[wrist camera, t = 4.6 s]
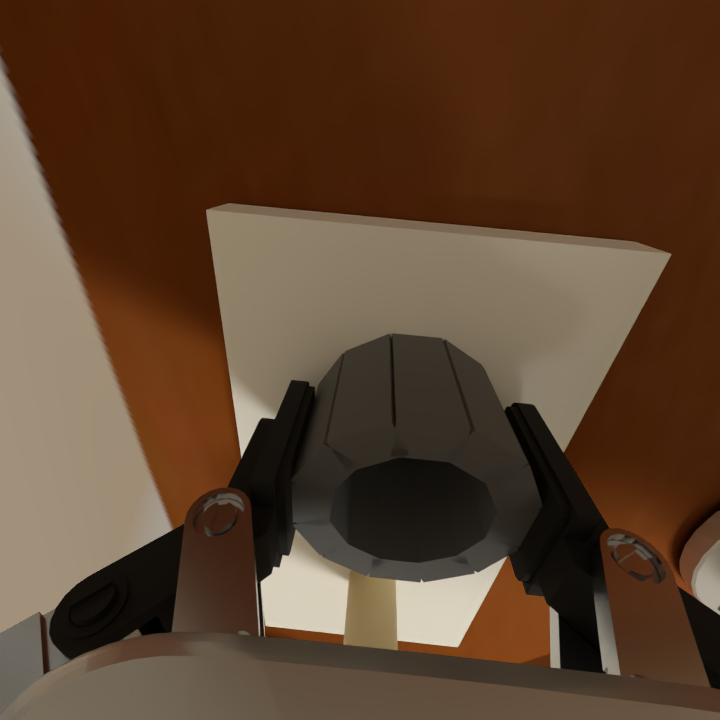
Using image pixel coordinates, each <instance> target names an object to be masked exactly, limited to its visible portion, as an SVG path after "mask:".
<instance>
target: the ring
mask: <svg viewBox="0 0 720 720" xmlns="http://www.w3.org/2000/svg"><path fill="white" fill-rule="evenodd" d="M291 482H292V508H293V522H294V523H293V526H294V527H295V529H296V530H297V531H298V532H299V533H300V534H301V535H302V536H303V538H304V539H305V540H306V541H307V542H308V543H309V544H310V545H311V546H312V548H313V549H314V550H315V551H316V552H317V553H318V554H319V555H322V557H323V558H325V559H328V560H330V561H332V562H334V563H337V564H339V565H341V566H344V567H346V568H348V569H350V570H353V571H355V572H357V573H360V574H362V575H364V576H367V575H368V574H369V577H373V578H383V579H392V580H401V581H410V582H419V583H420V582H421V579H422V581H423V582H429V581H435V580H441V579H447V578H453V577H459V576H464V575H470V574H475V573H474V571H476V572H480V571H482V570H484V569H485V568H487V567H489V566H491V565H492V564H494V563H496V562H498V561H500V560H501V559H503V558H505V557H507V556H509V555H510V554H512V553H514V552H516V551H517V550H518V549H519V548H518V547H520V545H521V543H522V542H523V540H524V538H525V536H526V535H527V533H528V531H529V529H530V527H531V526H532V524H533V522H534V520H535V519H536V517H537V515H538V513H539V511H540V508H542V506H543V505H542V502H541V498H540V495H539V492H538V489H537V486H536V483H535V480H534V477H533V473H532V470H531V467H530V465H529V463H528V460H527V458H526V456H525V454H524V452H523V450H522V448H521V446H520V443H519V441H518V439H517V437H516V435H515V433H514V431H513V429H512V426H511V424H510V422H509V420H508V418H507V416H506V414H505V412H504V409H503V407H502V405H501V403H500V401H499V399H498V397H497V395H496V393H495V390H494V388H493V386H492V384H491V382H490V380H489V378H488V376H487V373H486V371H485V369H484V367H483V366H482V364H480V363H479V362H477V361H476V360H474V359H473V358H472V357H470V356H469V355H467V354H466V353H464V352H463V351H461V350H460V349H459V348H457V347H456V346H454V345H453V344H451V343H450V342H448V341H447V340H446V339H445V340H444V341H443V339H442V338H436V337H426V336H416V335H406V334H396V333H393V334H392V338H391V336H390V334H387V335H385V336H382V337H379V338H377V339H374V340H372V341H369V342H367V343H364V344H362V345H359V346H356V347H354V348H351V349H349V350H346V351H345V354H344V353H342V354H341V356H340V357H339V358H338V360H337V361H336V362H335V363H334V365H333V366H332V367H331V369H330V370H329V371H328V372H327V374H326V375H325V376H324V378H323V379H322V380H321V381H320V383H319V384H318V387H317V391H316V394H315V400H314V403H313V407H312V410H311V414H310V417H309V421H308V424H307V428H306V431H305V434H304V438H303V441H302V445H301V448H300V452H299V455H298V459H297V462H296V465H295V469H294V472H293V476H292V479H291Z"/></svg>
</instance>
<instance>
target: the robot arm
mask: <svg viewBox="0 0 720 720" xmlns="http://www.w3.org/2000/svg"><path fill="white" fill-rule="evenodd" d="M314 400H315V387H313V386H309V382H308V381H298V380H291V382H290V384H289V387H288V389H287V391H286V394H285V396H284V398H283V401H282V403H281V406H280V408H279V410H278V413H277V415H276V417H275V419H270V418H261V419H260V421H259V422H258V424H257V426H256V429H255V431H254V433H253V435H252V437H251V439H250V441H249V443H248V445H247V447H246V450H245V452H244V454H243V456H242V458H241V460H240V462H239V464H238V466H237V468H236V471H235V473H234V475H233V477H232V479H231V481H230V483H229V485H228V487H227V488H218V489H215V490H212V491H209V492H207V493H206V494H204V495H202V496H201V497H199V498H198V499H197V500H196V501H195V502H194V503H193V504H192V506H191V507H190V509H189V510H188V512H187V515H186V518H185V523H184V524H183V525H181V526H179V527H178V528H176V529H174V530H172V531H170V532H169V533H167V534H165V535H163V536H161V537H160V538H158V539H156V540H154V541H152V542H150V543H149V544H147V545H145V546H143V547H141V548H139V549H138V550H136V551H134V552H132V553H130V554H129V555H127V556H125V557H123V558H121V559H120V560H118V561H116V562H114V563H112V564H110V565H109V566H107V567H105V568H103V569H101V570H100V571H97V572H96V573H94V574H92V575H90V576H89V577H87V578H86V579H84V580H83V581H81V582H80V583H78V584H77V585H76V586H75V587H74V588H73V589H71V590H70V592H68V593H67V594H66V595H65V596H64V598H63V599H62V601H61V602H60V603H59V605H58V606H57V607H56V609H54V610H52V611H50V612H48V613H47V614H45V615H42V614H41V613H40V612H38V613H36V614H35V615H33V616H31V617H29V618H27V619H25V620H23V621H22V622H20V623H18V624H16V625H14V626H13V627H11V628H9V629H7V630H5V631H3V632H2V633H0V720H720V510H718V511H717V512H715V513H714V514H713V515H711V516H710V517H709V518H708V519H707V520H706V521H705V522H704V523H703V524H702V525H701V526H700V527H698V528H697V529H696V530H695V532H694V533H693V535H692V536H691V537H690V539H689V540H688V541H687V543H686V544H685V547H684V549H683V552H682V555H681V557H680V574H681V576H682V578H683V580H684V582H685V584H686V585H687V586H688V588H689V589H690V590H691V592H692V593H693V594H694V596H695V597H696V598H697V599H696V598H694V597H693V596H691V595H690V594H688V593H687V592H685V591H684V590H683V589H681V588H680V587H678V586H677V583H676V580H675V577H674V574H673V571H672V569H671V567H670V565H669V563H668V562H667V561H666V559H665V558H664V557H663V555H662V554H661V553H660V552H659V551H658V550H657V549H656V548H655V547H654V546H652V545H651V544H650V543H649V542H647V541H646V540H644V539H643V538H641V537H640V536H638V535H636V534H634V533H632V532H630V531H626V530H623V529H619V528H610V529H609V527H608V525H607V524H606V522H605V521H604V519H603V517H602V516H601V514H600V512H599V511H598V509H597V507H596V506H595V504H594V502H593V501H592V499H591V497H590V496H589V494H588V492H587V491H586V489H585V487H584V486H583V484H582V483H581V481H580V479H579V478H578V476H577V474H576V473H575V471H574V469H573V468H572V466H571V464H570V463H569V461H568V459H567V458H566V456H565V454H564V453H563V451H562V450H561V448H560V446H559V445H558V443H557V441H556V440H555V438H554V436H553V435H552V433H551V431H550V430H549V428H548V427H547V425H546V423H545V422H544V420H543V418H542V417H541V415H540V413H539V412H538V410H537V408H536V407H535V406H534V405H533V404H526V403H516V402H515V403H513V404H512V405H511V406H507V407H506V408H505V411H504V412H505V414H506V416H507V418H508V420H509V422H510V424H511V426H512V429H513V431H514V433H515V435H516V437H517V439H518V441H519V443H520V446H521V448H522V450H523V452H524V454H525V456H526V458H527V460H528V463H529V465H530V467H531V470H532V473H533V477H534V480H535V483H536V486H537V489H538V492H539V495H540V498H541V502H542V505H543V506H542V508H540V511H539V513H538V515H537V517H536V519H535V520H534V522H533V524H532V526H531V527H530V529H529V531H528V533H527V535H526V536H525V538H524V540H523V542H522V543H521V545H520V547H518V548H519V549H518V550H517V551H516V552H514V553H512V554H510V555H509V557H510V560H511V564H512V567H513V570H514V573H515V576H516V578H517V579H518V580H519V581H522V582H523V585H524V588H525V592H526V594H527V595H537V596H544V597H545V600H546V603H547V604H548V605H549V606H550V650H551V667H543V666H534V665H525V664H517V663H508V662H499V661H490V660H481V659H472V658H463V657H454V656H445V655H436V654H427V653H418V652H409V651H400V650H391V649H381V648H372V647H362V646H353V645H343V644H334V643H324V642H315V641H305V640H296V639H286V638H275V637H265V627H264V614H263V600H262V587H261V581H262V580H264V579H265V578H266V577H268V576H269V575H271V574H272V570H273V567H278V568H280V564H281V560H282V556H283V555H285V556H289V555H290V552H291V548H292V543H293V539H294V535H295V531H296V529H295V527H294V526H293V523H294V522H293V508H292V482H291V479H292V476H293V472H294V469H295V465H296V462H297V459H298V455H299V452H300V448H301V445H302V441H303V438H304V434H305V431H306V428H307V424H308V421H309V417H310V414H311V410H312V407H313V403H314Z"/></svg>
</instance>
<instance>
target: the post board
mask: <svg viewBox="0 0 720 720" xmlns="http://www.w3.org/2000/svg"><path fill="white" fill-rule="evenodd" d="M206 215H207V222H208V228H209V235H210V242H211V249H212V256H213V263H214V270H215V277H216V284H217V291H218V298H219V305H220V312H221V319H222V326H223V333H224V340H225V347H226V353H227V360H228V367H229V374H230V381H231V388H232V395H233V402H234V409H235V416H236V423H237V430H238V437H239V444H240V451H241V458H242V456H243V454H244V452H245V450H246V447H247V445H248V443H249V441H250V439H251V437H252V435H253V433H254V431H255V429H256V426H257V424H258V422H259V421H260V419H261V418H270V419H275V417H276V415H277V413H278V410H279V408H280V406H281V403H282V401H283V398H284V396H285V394H286V391H287V389H288V387H289V384H290V382H291V380H298V381H308V382H309V386H313V387H315V394H316V391H317V387H318V384H319V383H320V381H321V380H322V379H323V378H324V376H325V375H326V374H327V372H328V371H329V370H330V369H331V367H332V366H333V365H334V363H335V362H336V361H337V360H338V358H339V357H340V356H341V354H342V353H344V354H345V351H346V350H349V349H351V348H354V347H356V346H359V345H362V344H364V343H367V342H369V341H372V340H374V339H377V338H379V337H382V336H385V335H387V334H390V336H391V338H392V334H393V333H396V334H406V335H416V336H426V337H436V338H442V339H443V341H444V340H445V339H446V340H447V341H448V342H450V343H451V344H453V345H454V346H456V347H457V348H459V349H460V350H461V351H463V352H464V353H466V354H467V355H469V356H470V357H472V358H473V359H474V360H476V361H477V362H479V363H480V364H482V366H483V367H484V369H485V371H486V373H487V376H488V378H489V380H490V382H491V384H492V386H493V388H494V390H495V393H496V395H497V397H498V399H499V401H500V403H501V405H502V407H503V409H504V411H505V408H506V407H507V406H511V405H512V404H513V403H515V402H516V403H526V404H533V405H534V406H535V407H536V408H537V410H538V412H539V413H540V415H541V417H542V418H543V420H544V422H545V423H546V425H547V427H548V428H549V430H550V431H551V433H552V435H553V436H554V438H555V440H556V441H557V443H558V445H559V446H560V448H561V450H562V451H563V453H564V451H565V449H566V447H567V446H568V444H569V442H570V440H571V438H572V436H573V435H574V433H575V431H576V429H577V427H578V425H579V424H580V422H581V420H582V418H583V416H584V414H585V413H586V411H587V409H588V407H589V405H590V403H591V402H592V400H593V398H594V396H595V394H596V392H597V390H598V389H599V387H600V385H601V383H602V381H603V379H604V378H605V376H606V374H607V372H608V370H609V368H610V367H611V365H612V363H613V361H614V359H615V357H616V356H617V354H618V352H619V350H620V348H621V346H622V345H623V343H624V341H625V339H626V337H627V335H628V334H629V332H630V330H631V328H632V326H633V324H634V323H635V321H636V319H637V317H638V315H639V313H640V311H641V310H642V308H643V306H644V304H645V302H646V300H647V299H648V297H649V295H650V293H651V291H652V289H653V288H654V286H655V284H656V282H657V280H658V278H659V277H660V275H661V273H662V271H663V269H664V267H665V266H666V264H667V262H668V260H669V258H670V256H671V255H672V254H670V253H667V252H664V251H662V250H659V249H656V248H653V247H650V246H647V245H644V244H641V243H638V242H635V241H624V240H614V239H603V238H592V237H582V236H571V235H561V234H550V233H539V232H529V231H518V230H508V229H497V228H486V227H476V226H465V225H455V224H444V223H433V222H423V221H412V220H402V219H391V218H380V217H370V216H359V215H349V214H338V213H327V212H317V211H306V210H296V209H285V208H274V207H264V206H253V205H243V204H232V203H228V204H224V205H221V206H217V207H214V208H210V209H207V210H206ZM506 558H507V557H505V558H503V559H501V560H500V561H498V562H496V563H494V564H492V565H491V566H489V567H487V568H485V569H484V570H482V571H480V572H476V571H474V573H475V574H470V575H464V576H459V577H453V578H447V579H441V580H435V581H429V582H423V581H422V579H421V582H420V583H419V582H410V581H401V580H392V579H383V578H373V577H369V574H368V575H367V576H364V575H362V574H360V573H357V572H355V571H353V570H350V569H348V568H346V567H344V566H341V565H339V564H337V563H334V562H332V561H330V560H328V559H325V558H323V557H322V555H319V554H318V553H317V552H316V551H315V550H314V549H313V548H312V546H311V545H310V544H309V543H308V542H307V541H306V540H305V539H304V538H303V536H302V535H301V534H300V533H299V532H298V531H297V530H296V531H295V535H294V539H293V543H292V548H291V552H290V555H289V556H285V555H283V556H282V560H281V564H280V568H278V567H273V570H272V574H271V575H269V576H268V577H266V578H265V579H264V580H262V581H261V587H262V600H263V611H264V617H265V624H266V626H271V627H280V628H289V629H298V630H307V631H316V632H325V633H334V634H343V635H344V642H343V645H353V646H362V647H372V648H381V649H391V650H398V644H397V640H398V641H407V642H416V643H425V644H434V645H443V646H452V647H458V646H459V644H460V642H461V640H462V638H463V637H464V635H465V633H466V631H467V629H468V627H469V626H470V624H471V622H472V620H473V618H474V616H475V615H476V613H477V611H478V609H479V607H480V605H481V604H482V602H483V600H484V598H485V596H486V594H487V593H488V591H489V589H490V587H491V585H492V583H493V582H494V580H495V578H496V576H497V574H498V572H499V571H500V569H501V567H502V565H503V563H504V561H505V559H506Z"/></svg>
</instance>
